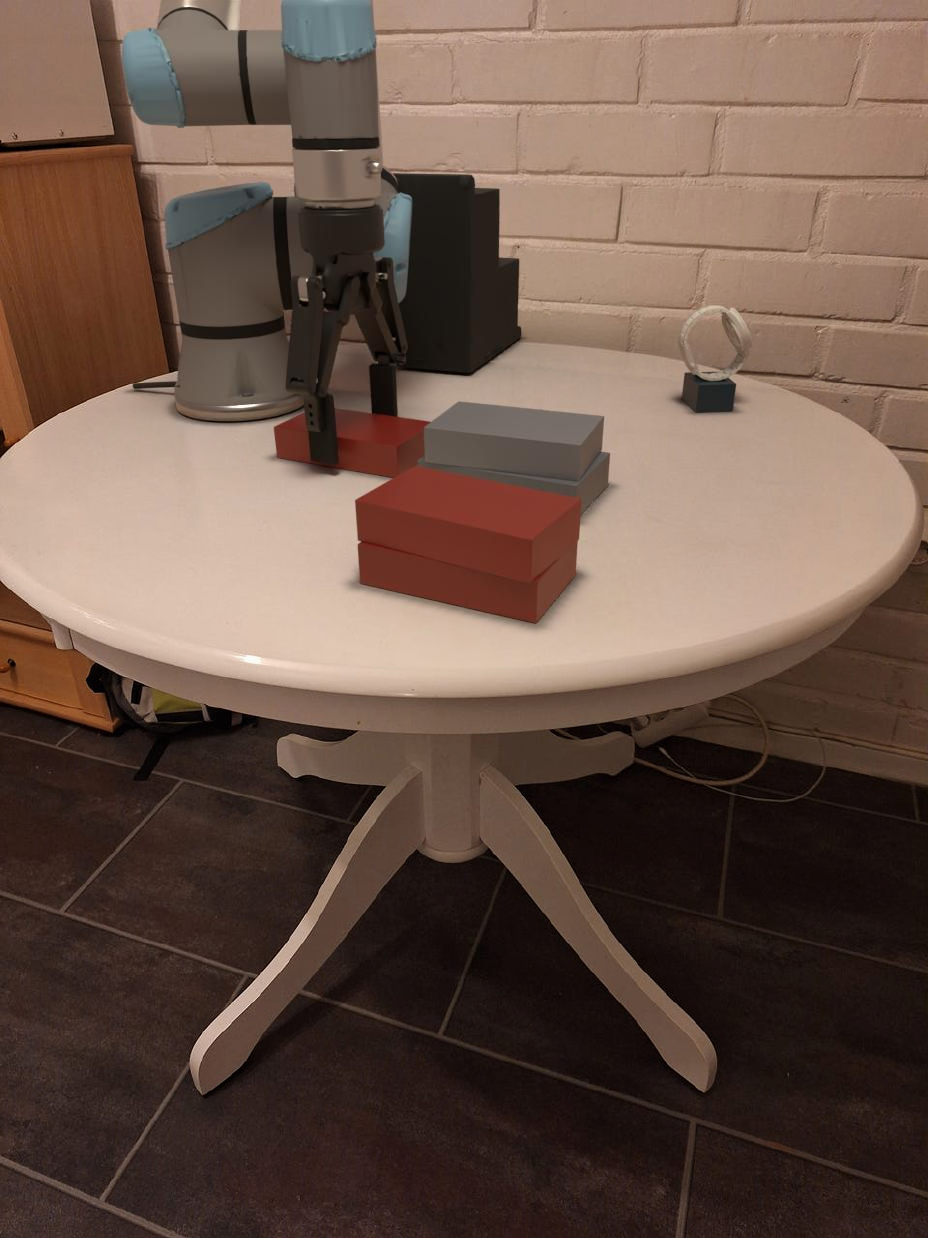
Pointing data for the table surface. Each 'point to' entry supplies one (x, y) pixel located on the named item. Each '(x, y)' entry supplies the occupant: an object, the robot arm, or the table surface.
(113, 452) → the table surface
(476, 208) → the bookend
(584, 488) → the grey book low
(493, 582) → the red stack low
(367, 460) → the red book
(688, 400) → the ring sculpture
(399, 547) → the red stack top
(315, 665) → the table surface
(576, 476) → the grey book top
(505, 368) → the table surface
